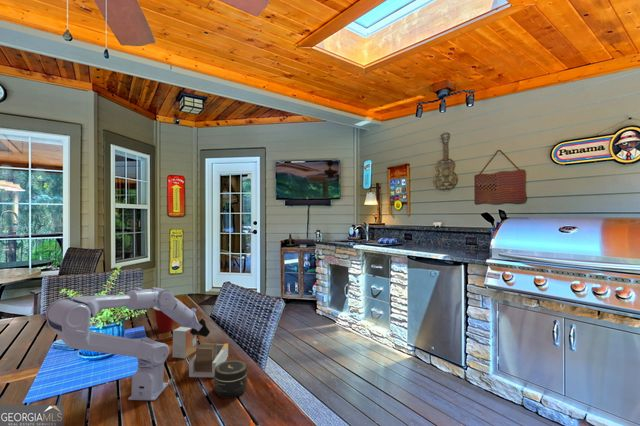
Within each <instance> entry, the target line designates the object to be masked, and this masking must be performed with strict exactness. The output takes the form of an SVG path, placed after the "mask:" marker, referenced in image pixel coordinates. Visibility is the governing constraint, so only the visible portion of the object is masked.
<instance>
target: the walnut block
mask: <svg viewBox="0 0 640 426" xmlns="http://www.w3.org/2000/svg"><path fill="white" fill-rule="evenodd" d="M217 344H218V343H214V342H213V343H212V342H211V343H209V342H201V343H200V344H199V345H198V346H196V351H195V355H196V371H199V372H212V362H213V361H214V359H215V358H216V354H217Z"/></svg>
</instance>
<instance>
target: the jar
mask: <svg viewBox="0 0 640 426" xmlns="http://www.w3.org/2000/svg"><path fill="white" fill-rule="evenodd" d="M247 374H248V366H247V364H246V363H245V362H244V361H241V360H236V359H235V360H234V359H233V360H231V359H230V360H226V361H225V362H222V363H220V364H219V365H217V366H216V368H215V374H214V377H213V378H214V392H215V394H216V395H217V396H218V397H219V398H223V399H233V398H236V397H240V396H241V395H242V394H243V393H244V392H245V390H246V387H247V383H248V382H247V381H248V380H247V378H248V376H247Z"/></svg>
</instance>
